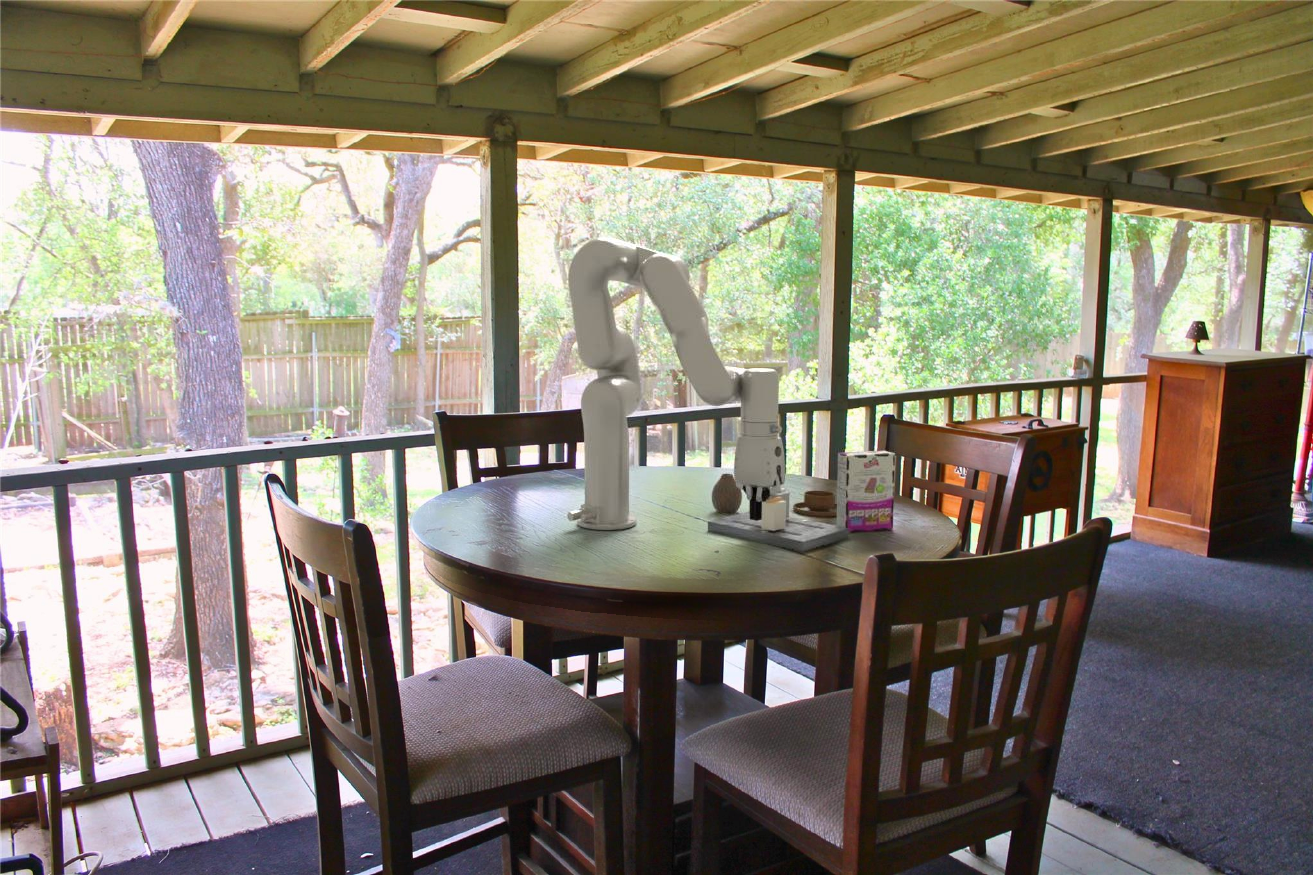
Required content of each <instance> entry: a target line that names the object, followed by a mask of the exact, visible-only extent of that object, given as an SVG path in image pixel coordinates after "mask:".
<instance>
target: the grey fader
mask: <svg viewBox="0 0 1313 875" xmlns="http://www.w3.org/2000/svg"><path fill="white" fill-rule="evenodd" d="M790 494H791V492H788V491H786V488H783V487H781V493H777V494H772V495H771V496H770V497H769V499H771V498H776V497H782V501H786V518H789V517H790V496H791V495H790ZM766 501H767V500H766Z"/></svg>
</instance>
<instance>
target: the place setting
mask: <svg viewBox="0 0 1313 875" xmlns="http://www.w3.org/2000/svg"><path fill="white" fill-rule="evenodd" d="M803 494H804V497H803V501H801V502H796V503H794V504H793V505H792V509H793V511H794V512H795V513H796V514H798V513H799V515H802V516H807V515H808V517H815V516H816V518H817V517H818V518H819V517H820V518H829V517H830V518H832V516H833V517H837V502H835V501H836V500H835V499H836V494H835V492H831V491H827V490H807V491H805V492H804V493H803ZM798 508H799V509H798ZM802 508H807V509H808V510H805V509H802ZM833 508H834V510H835V511H830V510H832V509H833Z"/></svg>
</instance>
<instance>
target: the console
mask: <svg viewBox="0 0 1313 875" xmlns="http://www.w3.org/2000/svg"><path fill="white" fill-rule="evenodd" d="M761 526H762V520H758V521H755V520H750V513H749V511H746V512H741V513H737V514H732V515H729V516H725V517H721V518H720V517H719V518H717V519H712V520H708V521H707V531H708V532H712V533H717V534H721V535H726V536H728V537H729V536H730V537H735V538H739V539H744V540H749V541H751V542H755V543H756V542H758V543H761V544H765V545H771V546H774V545H775V547H779V548H783V547H785V548H784V549H789V550H792V549H794V550H793V551H797V552H801V551H802V553H804V551H805V552H807V551H810V549H811V550H814V549H817V548H816V547H818V548H820V546H821V547H823V546H822V545H824V546H827V545H829V544H833V543H837V542H840V541H843V540H846V539H849V537H850V532H849V528H846V527H841V526H837V524H835V525H834V524H829V523H824V522H819V521H815V520H809V519H803V518H799V517H793V516H789V518H786V528H782V529H778V530H775V531H772V530H767V529H762V528H761ZM813 548H814V549H813Z"/></svg>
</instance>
